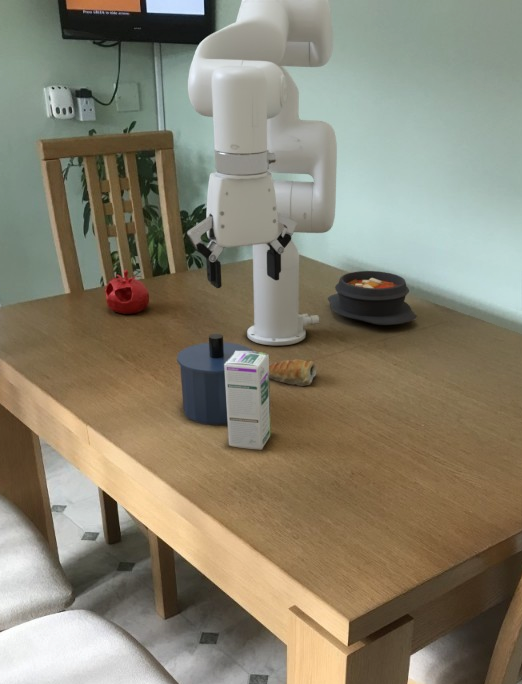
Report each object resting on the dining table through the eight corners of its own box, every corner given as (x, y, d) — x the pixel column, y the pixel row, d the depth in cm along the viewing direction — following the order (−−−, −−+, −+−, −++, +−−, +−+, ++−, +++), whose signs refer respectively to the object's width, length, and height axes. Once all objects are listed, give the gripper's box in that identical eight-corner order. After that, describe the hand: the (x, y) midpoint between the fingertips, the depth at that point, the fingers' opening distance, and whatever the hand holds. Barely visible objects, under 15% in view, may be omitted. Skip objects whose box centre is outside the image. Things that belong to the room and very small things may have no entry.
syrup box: (262, 450, 131) (261, 365, 123) (227, 446, 132) (223, 361, 124) (271, 435, 136) (270, 352, 128) (237, 431, 137) (234, 348, 129)
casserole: (435, 325, 185) (438, 288, 180) (366, 338, 176) (368, 300, 172) (373, 295, 203) (375, 261, 198) (309, 306, 195) (309, 270, 190)
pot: (238, 390, 151) (236, 341, 146) (265, 417, 142) (265, 365, 136) (174, 402, 146) (170, 351, 141) (198, 430, 137) (195, 377, 132)
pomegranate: (129, 300, 195) (125, 261, 190) (159, 309, 190) (155, 269, 185) (97, 310, 188) (92, 270, 183) (127, 319, 183) (123, 278, 178)
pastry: (262, 382, 154) (261, 363, 152) (271, 369, 160) (271, 351, 158) (310, 387, 153) (310, 368, 151) (317, 374, 159) (318, 355, 157)
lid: (238, 343, 147) (237, 318, 144) (269, 369, 137) (268, 343, 134) (166, 354, 141) (164, 329, 139) (193, 382, 131) (191, 355, 129)
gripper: (284, 155, 123) (284, 268, 133) (175, 163, 116) (183, 281, 126) (306, 164, 118) (305, 281, 127) (193, 172, 111) (200, 296, 120)
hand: (244, 281), depth 126 cm, fingers open, 9 cm apart
